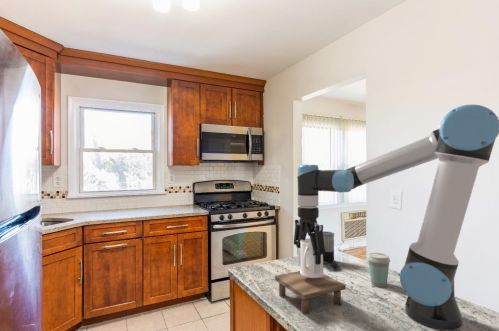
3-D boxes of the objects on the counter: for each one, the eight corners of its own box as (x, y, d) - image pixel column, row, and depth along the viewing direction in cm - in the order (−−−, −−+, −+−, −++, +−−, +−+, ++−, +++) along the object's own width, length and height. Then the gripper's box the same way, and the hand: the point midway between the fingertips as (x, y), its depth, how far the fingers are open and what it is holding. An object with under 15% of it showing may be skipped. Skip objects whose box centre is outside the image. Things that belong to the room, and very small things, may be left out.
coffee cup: (392, 290, 107) (391, 259, 108) (368, 287, 110) (368, 257, 111) (388, 281, 116) (388, 253, 116) (366, 279, 118) (366, 251, 119)
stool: (345, 304, 96) (345, 284, 96) (303, 316, 88) (303, 294, 88) (313, 285, 112) (312, 268, 112) (275, 294, 104) (275, 275, 105)
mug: (314, 283, 92) (313, 247, 93) (291, 277, 98) (291, 243, 98) (327, 272, 102) (327, 240, 102) (306, 268, 107) (305, 237, 107)
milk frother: (323, 257, 148) (323, 230, 148) (350, 265, 136) (349, 235, 136) (306, 263, 139) (306, 234, 140) (333, 272, 127) (333, 240, 127)
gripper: (336, 209, 93) (336, 277, 93) (299, 203, 112) (300, 259, 112) (318, 211, 90) (319, 280, 89) (284, 204, 109) (284, 261, 108)
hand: (308, 268), depth 100 cm, fingers closed on mug, 8 cm apart
